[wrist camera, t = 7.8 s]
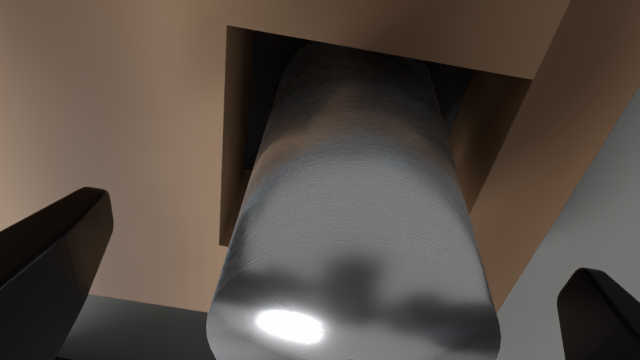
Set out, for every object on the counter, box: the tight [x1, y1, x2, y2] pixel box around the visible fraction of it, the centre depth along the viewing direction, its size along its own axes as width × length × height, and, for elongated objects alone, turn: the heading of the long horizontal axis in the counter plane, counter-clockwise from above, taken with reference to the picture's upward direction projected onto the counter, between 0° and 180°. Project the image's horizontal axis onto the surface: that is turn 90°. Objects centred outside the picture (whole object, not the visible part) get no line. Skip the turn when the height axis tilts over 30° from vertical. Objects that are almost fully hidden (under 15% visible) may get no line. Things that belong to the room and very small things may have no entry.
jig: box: [0, 0, 640, 314], centre depth 12 cm, size 14×12×4 cm
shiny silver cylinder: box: [206, 40, 501, 360], centre depth 11 cm, size 4×4×8 cm
